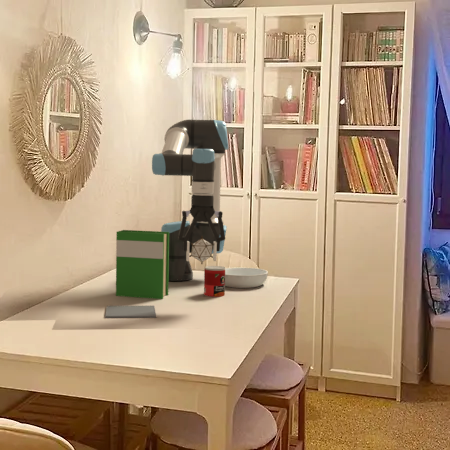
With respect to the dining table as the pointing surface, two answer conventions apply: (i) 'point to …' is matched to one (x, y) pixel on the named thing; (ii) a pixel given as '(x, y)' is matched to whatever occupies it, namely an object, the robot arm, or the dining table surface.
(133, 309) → the mat
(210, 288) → the canned food
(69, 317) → the dining table surface
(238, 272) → the serving bowl
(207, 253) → the game die
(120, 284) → the hardback book
